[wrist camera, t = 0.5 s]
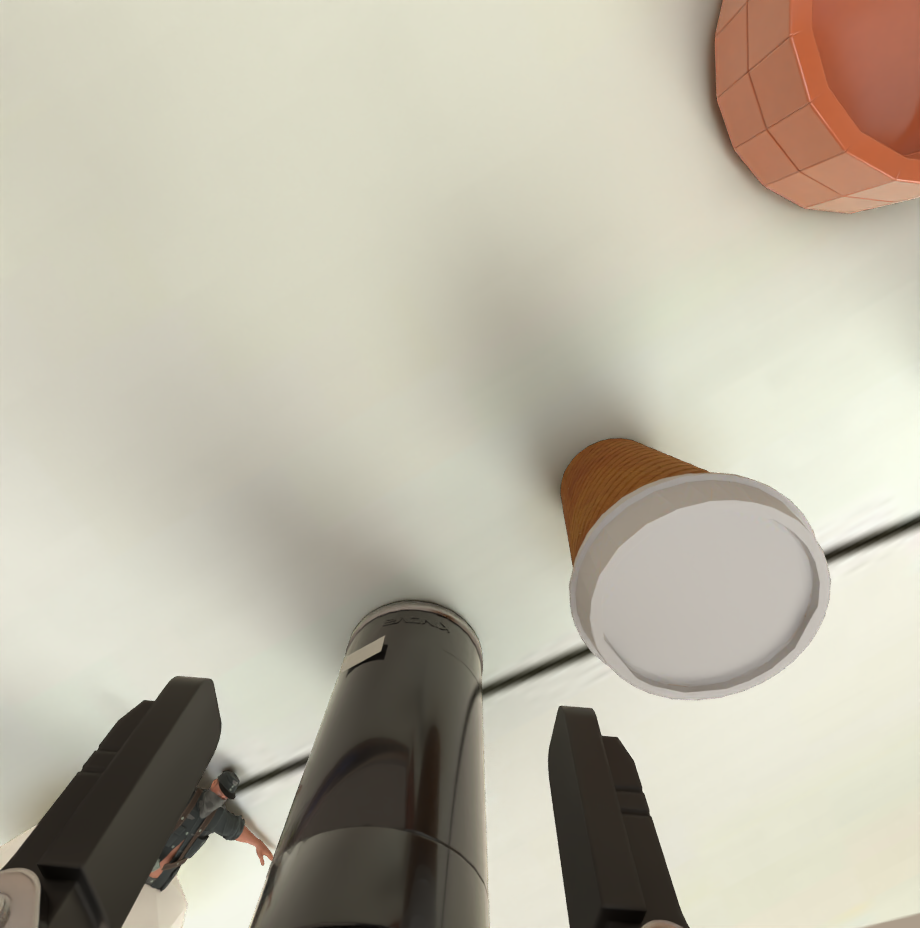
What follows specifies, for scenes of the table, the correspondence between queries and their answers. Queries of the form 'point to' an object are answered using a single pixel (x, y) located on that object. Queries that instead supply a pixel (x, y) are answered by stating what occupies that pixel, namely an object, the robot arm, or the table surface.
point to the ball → (178, 853)
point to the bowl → (824, 98)
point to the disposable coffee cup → (688, 572)
